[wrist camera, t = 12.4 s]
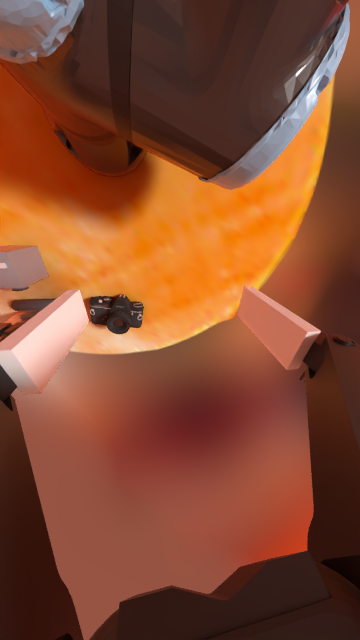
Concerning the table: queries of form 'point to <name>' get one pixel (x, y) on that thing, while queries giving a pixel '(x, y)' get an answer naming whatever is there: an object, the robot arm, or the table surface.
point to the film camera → (116, 313)
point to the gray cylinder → (30, 304)
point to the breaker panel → (16, 321)
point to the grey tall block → (20, 267)
